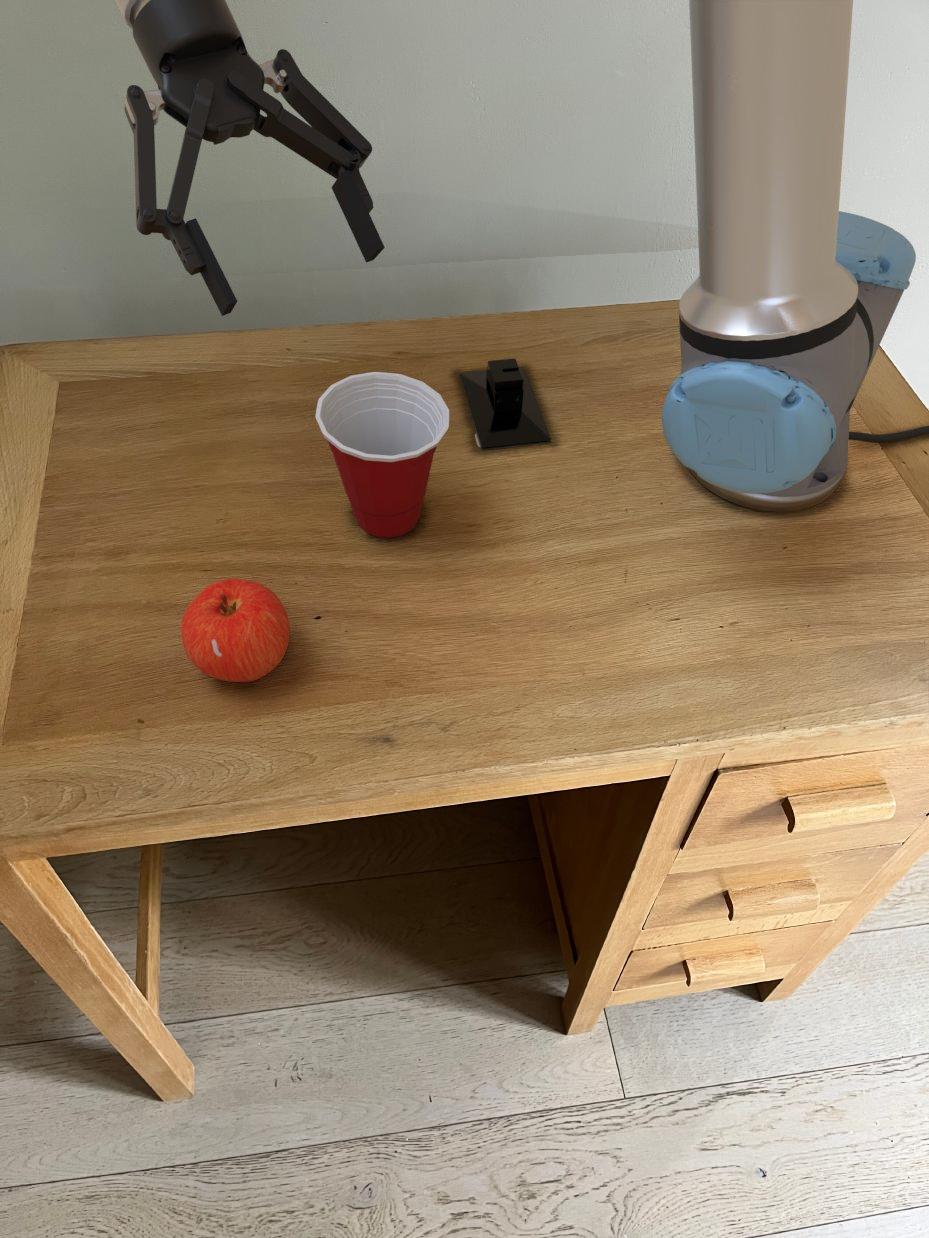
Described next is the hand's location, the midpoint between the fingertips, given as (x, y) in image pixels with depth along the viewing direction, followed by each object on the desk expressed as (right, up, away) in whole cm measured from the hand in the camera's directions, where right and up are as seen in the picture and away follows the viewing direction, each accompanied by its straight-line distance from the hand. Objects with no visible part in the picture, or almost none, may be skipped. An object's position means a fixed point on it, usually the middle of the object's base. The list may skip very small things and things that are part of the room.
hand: (305, 281), depth 69 cm
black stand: (+17, -6, +19) cm, 26 cm away
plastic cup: (+6, -18, +9) cm, 21 cm away
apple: (-5, -30, -1) cm, 31 cm away
